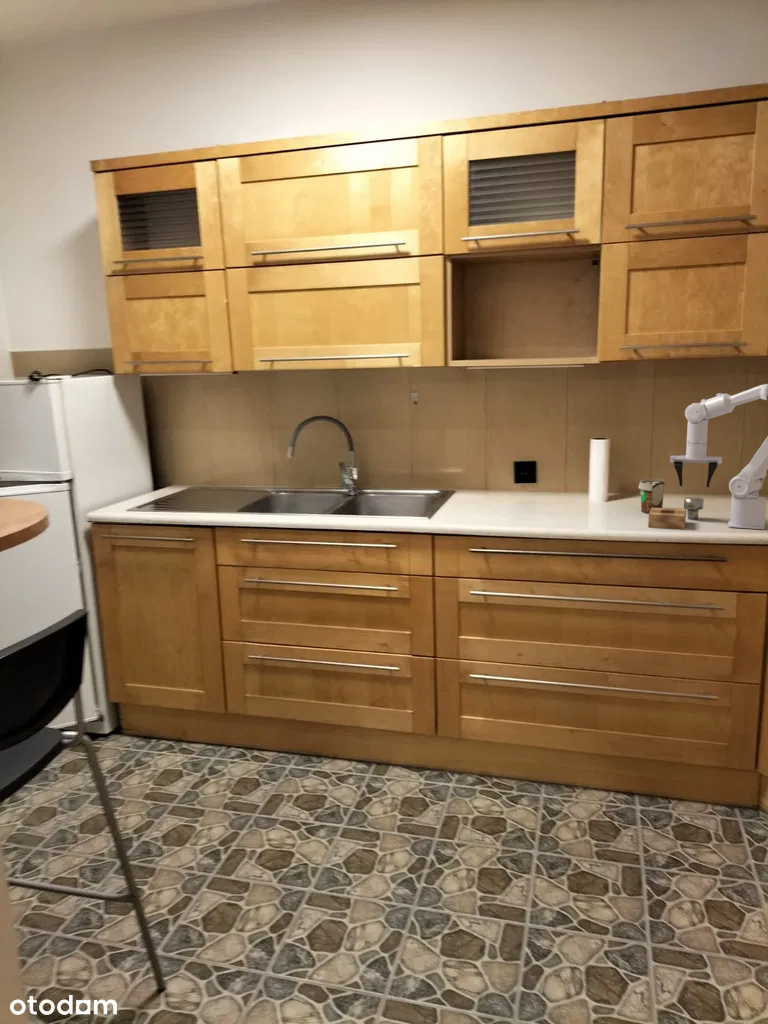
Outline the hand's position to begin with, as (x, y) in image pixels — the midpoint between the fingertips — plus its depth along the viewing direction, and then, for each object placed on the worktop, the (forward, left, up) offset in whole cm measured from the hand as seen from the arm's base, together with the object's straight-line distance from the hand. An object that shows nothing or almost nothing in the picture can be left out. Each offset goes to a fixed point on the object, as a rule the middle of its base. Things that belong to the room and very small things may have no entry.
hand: (694, 486), depth 229 cm
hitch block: (+7, +10, -10) cm, 16 cm away
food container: (+14, -9, -11) cm, 20 cm away
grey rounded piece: (0, 0, -10) cm, 10 cm away
